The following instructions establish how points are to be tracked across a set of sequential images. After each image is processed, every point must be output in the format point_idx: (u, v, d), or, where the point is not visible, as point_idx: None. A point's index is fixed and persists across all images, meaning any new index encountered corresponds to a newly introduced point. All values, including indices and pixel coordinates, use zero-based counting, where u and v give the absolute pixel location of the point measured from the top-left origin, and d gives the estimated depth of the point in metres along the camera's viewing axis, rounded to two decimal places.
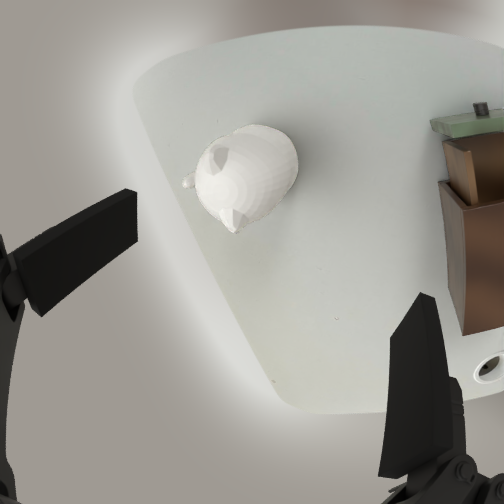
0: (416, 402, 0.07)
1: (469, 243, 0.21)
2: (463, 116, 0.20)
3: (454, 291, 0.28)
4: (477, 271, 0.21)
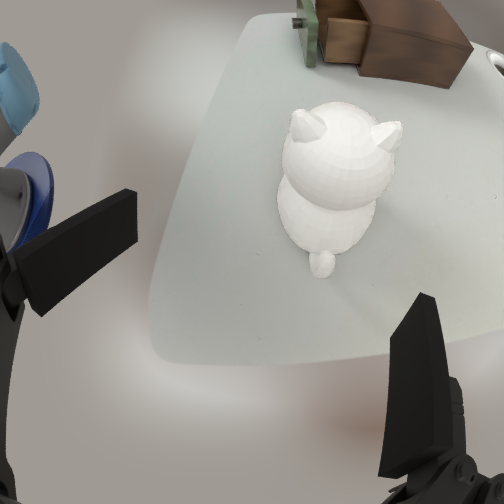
0: (416, 402, 0.07)
1: (397, 26, 0.22)
2: (303, 37, 0.29)
3: (446, 69, 0.26)
4: (418, 27, 0.22)
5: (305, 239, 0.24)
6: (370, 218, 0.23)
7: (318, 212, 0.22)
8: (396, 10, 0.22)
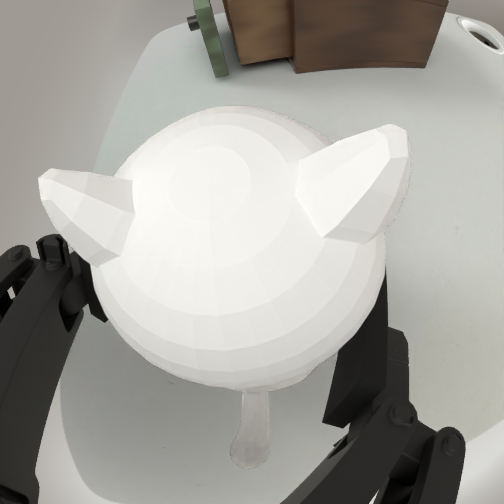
0: (354, 346, 0.08)
1: None
2: None
3: (417, 38, 0.18)
4: None
5: None
6: None
7: None
8: None
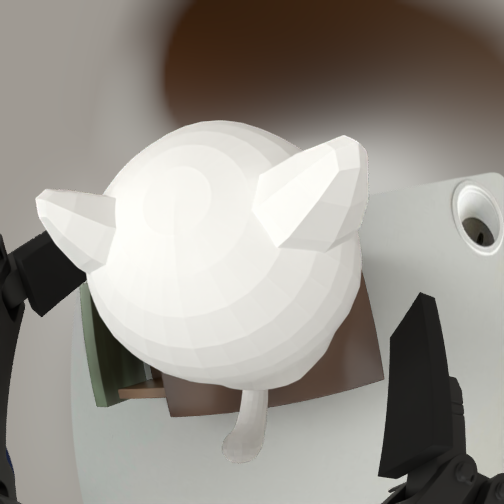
0: (416, 402, 0.07)
1: (212, 408, 0.17)
2: None
3: None
4: None
5: None
6: None
7: None
8: None
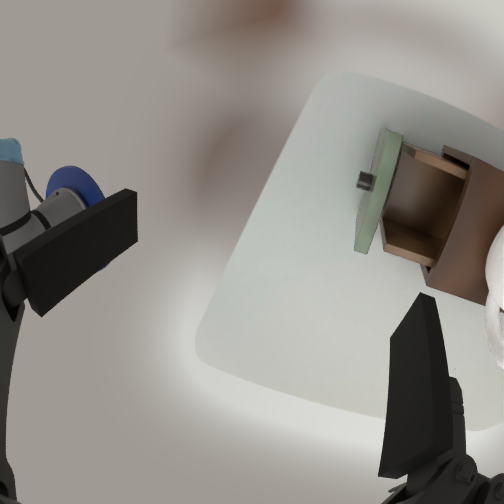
0: (416, 402, 0.07)
1: (457, 291, 0.21)
2: (364, 199, 0.26)
3: None
4: (486, 292, 0.20)
5: (501, 304, 0.15)
6: None
7: None
8: None
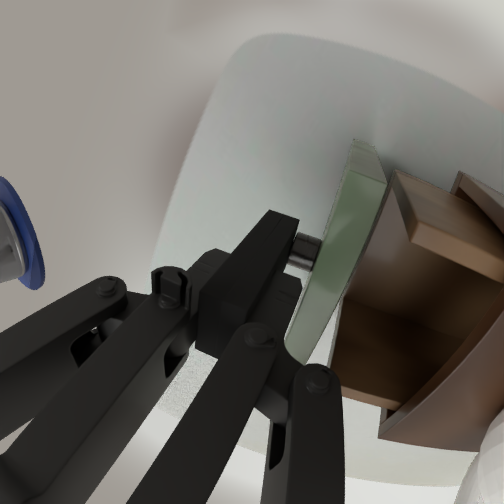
0: None
1: (429, 443, 0.11)
2: (309, 275, 0.15)
3: None
4: (477, 441, 0.09)
5: (484, 503, 0.05)
6: None
7: None
8: (497, 408, 0.08)
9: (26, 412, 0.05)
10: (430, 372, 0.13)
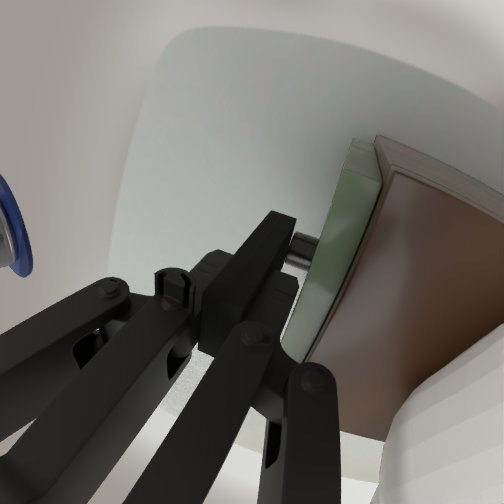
0: None
1: (342, 427, 0.12)
2: None
3: None
4: None
5: None
6: None
7: None
8: None
9: (27, 413, 0.05)
10: None
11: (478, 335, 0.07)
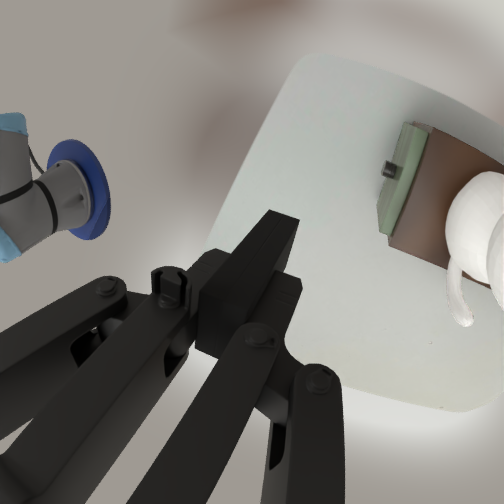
0: None
1: (419, 253, 0.24)
2: (387, 186, 0.28)
3: None
4: (450, 257, 0.23)
5: (459, 264, 0.19)
6: None
7: (487, 272, 0.15)
8: None
9: (26, 412, 0.05)
10: None
11: None
